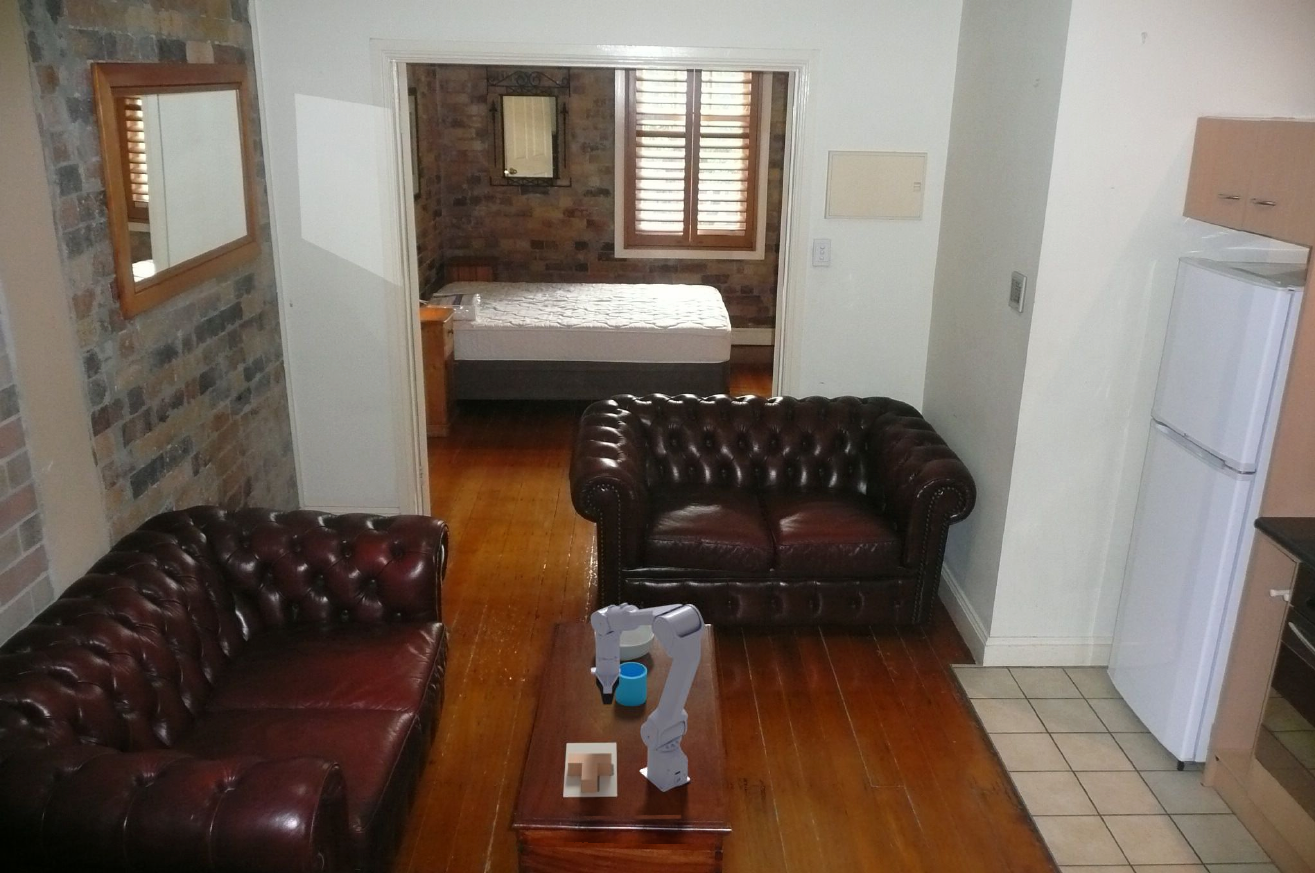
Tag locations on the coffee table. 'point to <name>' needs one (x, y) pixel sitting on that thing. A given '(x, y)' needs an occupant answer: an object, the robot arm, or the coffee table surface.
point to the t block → (590, 768)
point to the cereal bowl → (635, 642)
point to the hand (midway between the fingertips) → (607, 703)
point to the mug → (632, 684)
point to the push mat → (604, 783)
